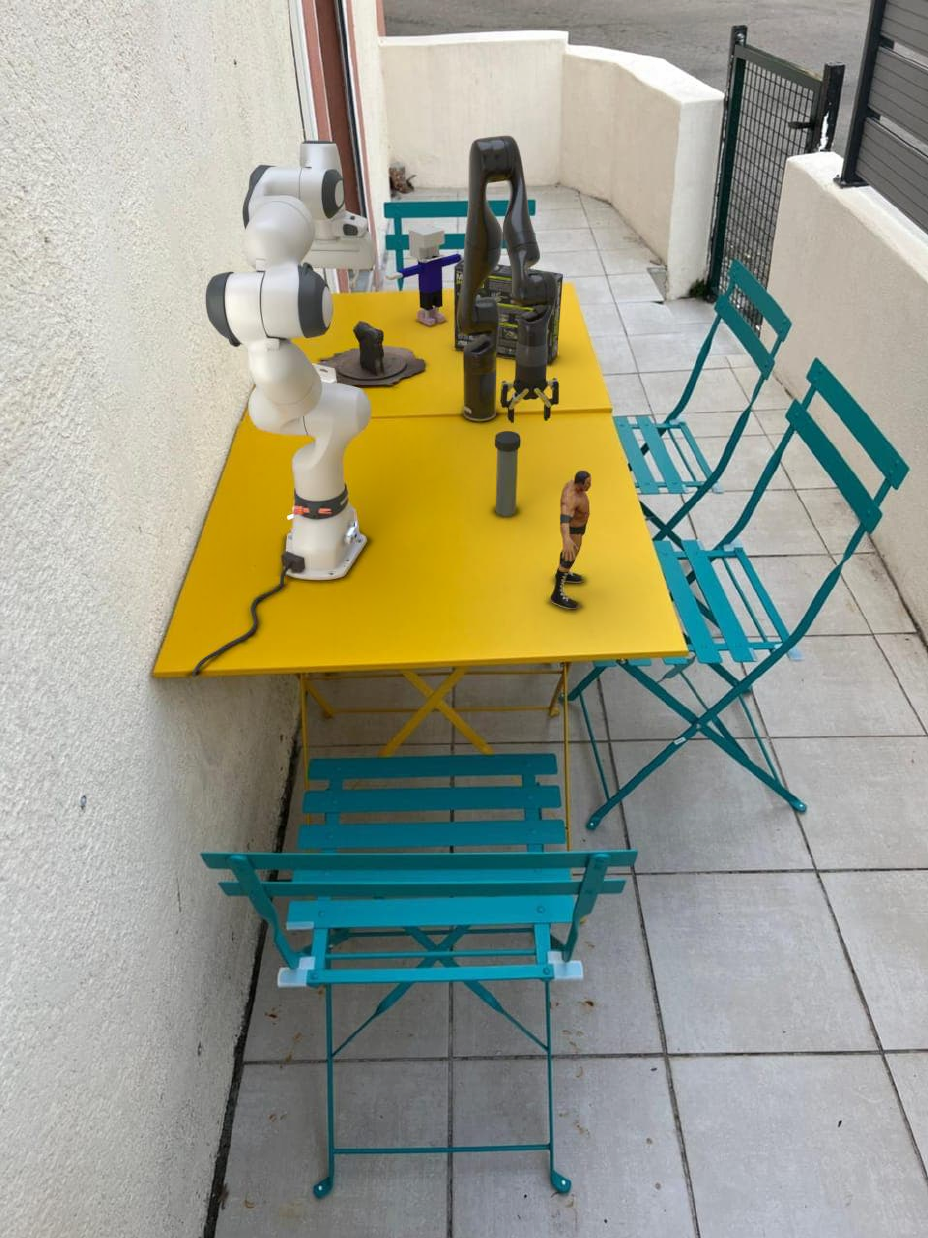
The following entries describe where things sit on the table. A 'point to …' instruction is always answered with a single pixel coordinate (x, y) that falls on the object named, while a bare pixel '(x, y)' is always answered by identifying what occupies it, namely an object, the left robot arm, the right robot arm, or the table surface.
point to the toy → (427, 270)
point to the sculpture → (372, 360)
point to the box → (507, 311)
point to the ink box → (326, 374)
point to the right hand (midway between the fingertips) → (528, 420)
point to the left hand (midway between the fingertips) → (332, 287)
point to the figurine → (571, 534)
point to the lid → (507, 441)
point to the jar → (506, 482)
